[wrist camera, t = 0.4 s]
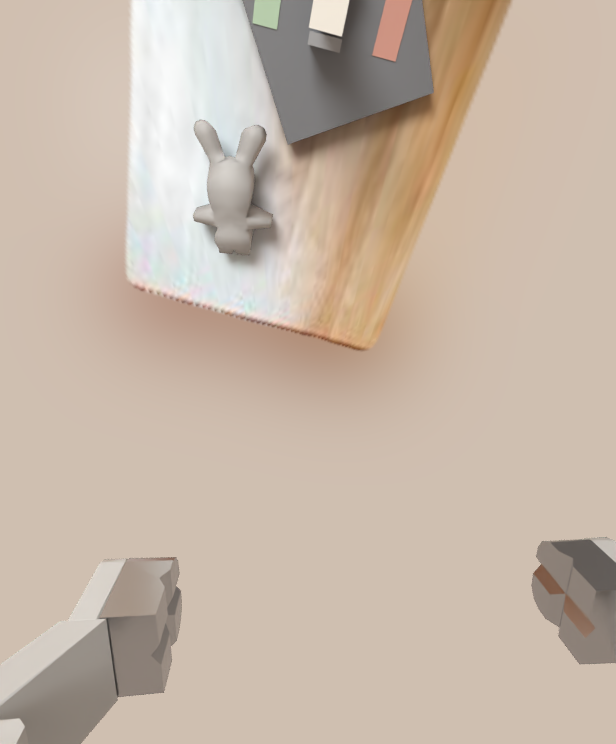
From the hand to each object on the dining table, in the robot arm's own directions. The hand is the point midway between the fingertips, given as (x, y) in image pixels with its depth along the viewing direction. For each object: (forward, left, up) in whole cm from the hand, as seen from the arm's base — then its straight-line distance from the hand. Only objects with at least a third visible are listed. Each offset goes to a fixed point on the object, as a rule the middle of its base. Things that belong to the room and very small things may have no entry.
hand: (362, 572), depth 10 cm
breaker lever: (-11, +3, -48) cm, 50 cm away
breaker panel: (-11, +3, -51) cm, 52 cm away
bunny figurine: (+2, -13, -51) cm, 53 cm away
